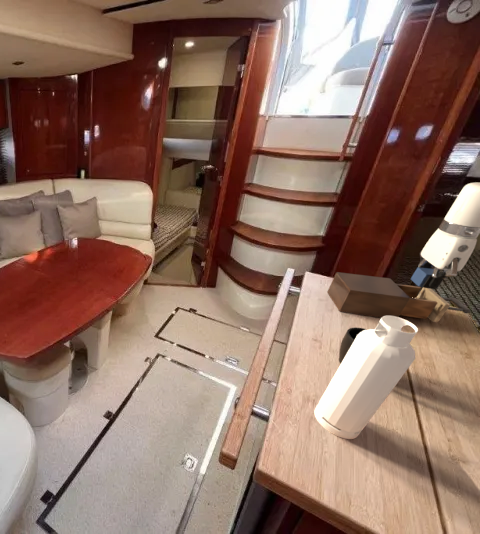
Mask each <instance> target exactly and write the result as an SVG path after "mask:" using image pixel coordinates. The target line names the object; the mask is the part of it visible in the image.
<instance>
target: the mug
mask: <svg viewBox="0 0 480 534" xmlns="http://www.w3.org/2000/svg"><path fill="white" fill-rule="evenodd" d="M364 330H368V328H364V327H356V326H355V327H350V328H348V329H347V331H346V332H345V334H344V336H343V338H342V339H341V343H340V347H339V353H338V355H339V356H338V357H339V358H338V362H339V364H341V363H342V361H343V359H344V357H345V356H346V354H347V352H348V351H349V349H350V347H351V345H352V344H353V342H354V340H355V338H356V337H357V335H358V334H359V333H360V332H362V331H364Z"/></svg>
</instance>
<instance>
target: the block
mask: <svg viewBox="0 0 480 534" xmlns="http://www.w3.org/2000/svg"><path fill="white" fill-rule="evenodd" d="M434 269H435V268H431V269H429V268H420V267H419V266H418V267H416V269H415V271H414V272H413V274H412V276H411V278H410V280H411V281H412V282H413V283H414V285H415V286H417V287H421V288H423V284H424V283H425V281H426V280H427V278H428V277H429V276H432V273H433V271H434ZM439 273H440V271H439ZM441 283H442V282H441ZM441 283H440V285H441ZM440 285H439V286H438V288H439V287H440Z"/></svg>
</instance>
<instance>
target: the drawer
mask: <svg viewBox="0 0 480 534" xmlns="http://www.w3.org/2000/svg"><path fill="white" fill-rule="evenodd" d="M395 284H396V285H397V286H398V287H399V288H400V289H402V290H403V291H404V292H405V293H406V294H407V295H408V296H409V297H410V299H409V301H408V302H407V304H406V306H405V307H404V309H403V310H402V312H401V313H400V315H399V316H403V317H410V318H416V319H423V320H427V319H429V320H430V321H431V322H432V323H437V324H438V323H439V322H440V321H441V319H442V317H443V316H444V315H445V313H446V312H447V311H448V310H449V311H457V312H462V313H463V314H470V313H471V309H470V308H469V307H467V306H466V305H465V304H464V303H462V302H461V301H460V300H459V299H457V298H456V297H455V296H454V297H453V296H452V297H450V298H449V297H442V296H440V294H438V293H437V292H436V291H435V290H434V289H430V288H424V287H419V286H418V285H409V284H401V283H400V284H399V283H395ZM412 297H413V298H412ZM449 302H450V303H452V304H453V305H454V306H455V307H453V306H451V304H450V303H449Z"/></svg>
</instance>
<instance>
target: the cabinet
mask: <svg viewBox="0 0 480 534" xmlns="http://www.w3.org/2000/svg"><path fill="white" fill-rule="evenodd" d="M396 284H397V283H395V281H394V280H392V279H391V278H389V277H381V276H372V275H364V274H357V273H355V274H354V273H348V272H339V271H336V272H335V275H334V276H333V278H332V281H331V283H330V285H329V288H328V290H327V291H326V293H327V295H328V296H329V298H330V299H331V301H332V303H333V304H334V305H335V307H336V309H337V310H338V311H339V313H346V314H353V315H360V316H367V317H374V318H380V319H381V318H382V317H383V316H396V317H399V316H401V315H400V313H401V312H402V310H403V309H404V307H405V306H406V304H407V302H408V301H409V299H410V297H409V296H408V295H407V294H406V293H405V292H404V291H403V290H402V289H400V288H399V287H398V286H397V285H396Z"/></svg>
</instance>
